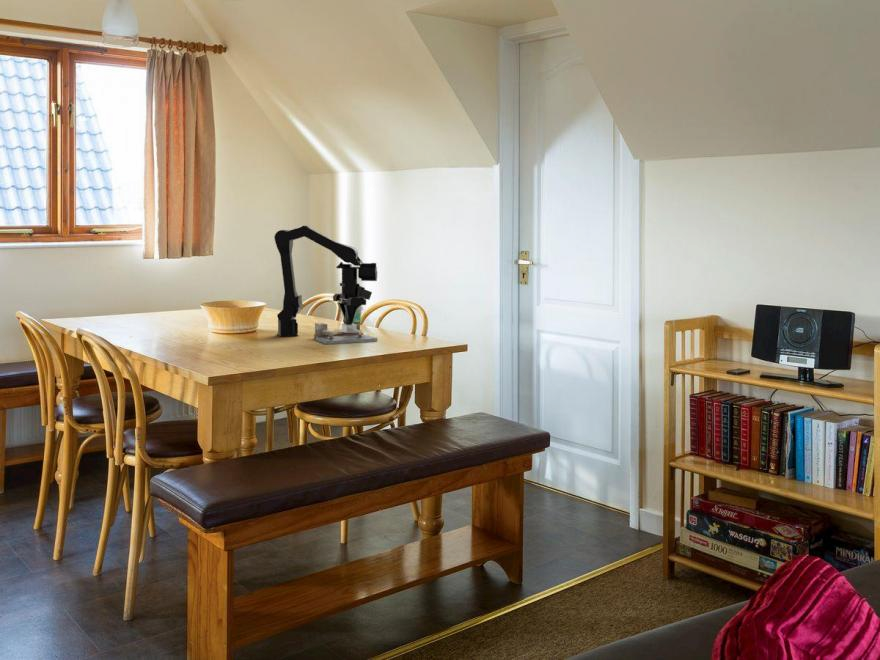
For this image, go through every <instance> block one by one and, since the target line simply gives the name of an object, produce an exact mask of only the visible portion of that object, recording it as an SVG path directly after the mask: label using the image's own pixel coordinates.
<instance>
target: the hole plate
mask: <svg viewBox="0 0 880 660" xmlns="http://www.w3.org/2000/svg"><path fill="white" fill-rule="evenodd" d="M315 342H318V343H321V344H323V345H339V344H341V345H342V344H352V343H353V344H356V343H357V344H358V343H370V342H371V343H372V342H378V337H375V336H373V335H370V334H363V335H361V336H358V335H351V336H333V338H329V337H316V338H315Z"/></svg>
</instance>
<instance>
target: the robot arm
mask: <svg viewBox="0 0 880 660" xmlns="http://www.w3.org/2000/svg"><path fill="white" fill-rule="evenodd" d="M304 237H305V238H306V239H308V240H311V241H312V242H314V243H316V244H318V245H320V246H321V247H324V248H325V249H328V250H329V251H330V252H332V253H333V254H334V255H335V256H336V257H337V258H339V259H340V260H342V261H341V262H339V264H338V265H337V266H336V269H341V282H340V283H339V286H340V287H341V293H334V295H332V302H337V305H338V307H339V309H340V311H341V313H342V316H344V318H345V311H346V313H347V316H348V320H349V322H350V323H352V322H353V319H354V316H355V312H356V310H357V308H358V307H360V306H361V305H362V306H366V305H367V300H368V301H370V299H371V297H372V294H373V292H372V291H370V290H367V289H366V288H365V287H363V286H361V285H360V283H359V282H358V279H360V280H361V282H377V281H378V267H377V263H376V262H370V263H369V262H363V261H362V259H361V257H360V256H359V252H358V250H357V249H356V248H355V247H354V246H351V245H347V244H345V243H341V242H338V241H336V240H334V239H332V238H330V237H328V236H326V235H324V234H323V233H321V232H319V231H317V230H316V229H314V228H312V227H311V226H309V225H302V226H300V227H297V228H293V229H290V230H288V229H281V230H278V231H276V233H275V234H274V242H275V245H276V248H277V250H278V251H277V252H278V253H279V255H280V262H281V263H280V265H281V273H282V281H283V288H284V294H283V299H282V300H283V301H282V310H281V311H280V312H278V314H277V333H276V336H280V337H282V338H283V337H285V338H286V337H298V336H299V334H298V333H299V329H298V328H299V324H298V322H297V316H298V315H299V313H300V312H301V311H302V309H303V308H302V307H303V306H304V303H303V299H302V297H303V296H302V294H300V295H299V294H298V292H297V289H296V287H297V286H296V280H295V272H294V264H293V262H294V261H293V256H292V255H293V254H292V253H293V247H294V241H295V240H298V239H302V238H304ZM344 262H345V263H344ZM352 265H353V266H352ZM344 318H343V319H344Z"/></svg>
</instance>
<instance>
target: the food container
mask: <svg viewBox="0 0 880 660" xmlns="http://www.w3.org/2000/svg"><path fill="white" fill-rule="evenodd" d="M363 310H364V308H363V305H361V306H360V307H358V308H357V310H356V312H355V316H354V319H353V324H356V325H357V330H361V319H362V311H363ZM342 316H343V315H342ZM344 323H345V318H344V316H343V324H344Z"/></svg>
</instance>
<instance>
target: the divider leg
mask: <svg viewBox="0 0 880 660" xmlns="http://www.w3.org/2000/svg"><path fill="white" fill-rule="evenodd" d="M342 332H345V333H358V336H361V334H362V333H363V331H362V330H361V329H360V330H357V325H356V324H353V322H352V323H350V322H349V320H348V316H347V313H346V311H345V323H344V322H343V323H341V333H342Z"/></svg>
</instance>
